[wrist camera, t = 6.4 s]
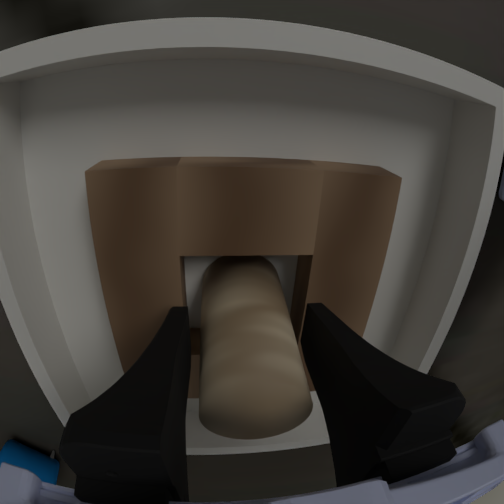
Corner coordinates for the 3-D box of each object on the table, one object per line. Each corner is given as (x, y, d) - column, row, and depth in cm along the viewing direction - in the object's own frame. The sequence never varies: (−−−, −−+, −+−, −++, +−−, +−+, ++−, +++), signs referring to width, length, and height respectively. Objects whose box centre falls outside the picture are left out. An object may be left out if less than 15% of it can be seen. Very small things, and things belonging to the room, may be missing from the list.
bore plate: (379, 166, 14) (401, 177, 12) (334, 363, 19) (344, 386, 17) (101, 160, 12) (84, 171, 10) (136, 370, 17) (131, 396, 16)
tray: (457, 85, 13) (510, 92, 9) (375, 389, 23) (393, 428, 19) (15, 66, 10) (-36, 65, 6) (87, 401, 20) (76, 444, 16)
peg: (284, 252, 15) (325, 379, 9) (274, 313, 16) (300, 435, 10) (202, 250, 14) (196, 384, 8) (202, 313, 16) (200, 440, 10)
